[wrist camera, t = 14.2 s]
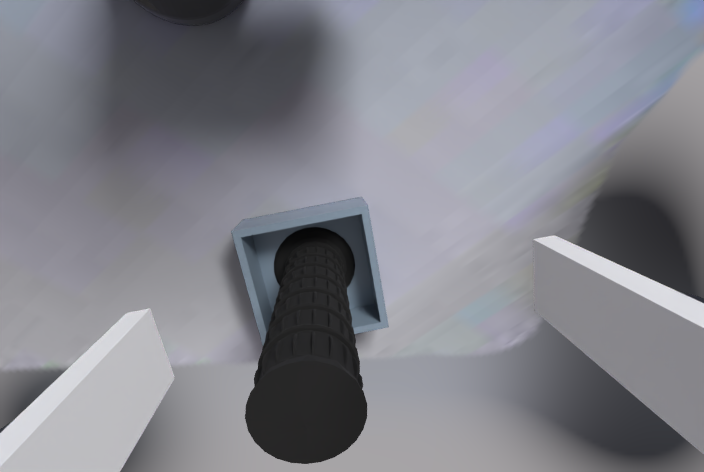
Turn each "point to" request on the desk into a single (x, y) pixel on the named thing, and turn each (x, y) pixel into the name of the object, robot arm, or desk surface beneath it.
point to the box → (341, 217)
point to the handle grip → (309, 355)
